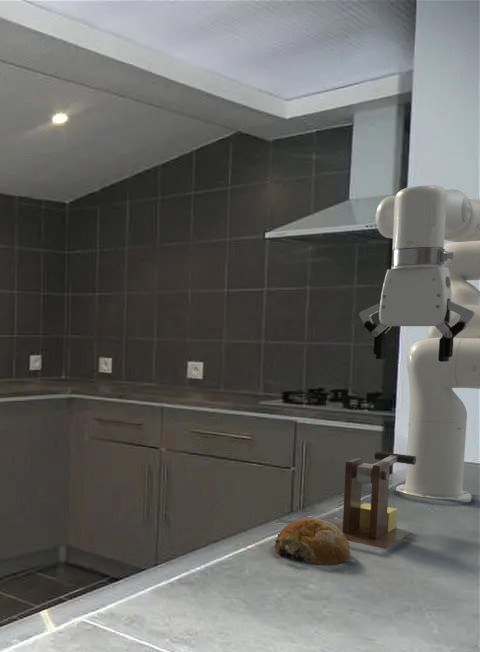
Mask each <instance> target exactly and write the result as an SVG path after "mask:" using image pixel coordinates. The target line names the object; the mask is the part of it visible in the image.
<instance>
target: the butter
mask: <svg viewBox="0 0 480 652" xmlns="http://www.w3.org/2000/svg"><path fill="white" fill-rule="evenodd" d="M398 511H399V510H398V508H395V507H390V506H388V507H387V526H386V532H390V531H391V530H393V529H397V527H398ZM370 514H371V503H368V502H364V503H361V505H360V525H359V527H363V528H368V529H370Z"/></svg>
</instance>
